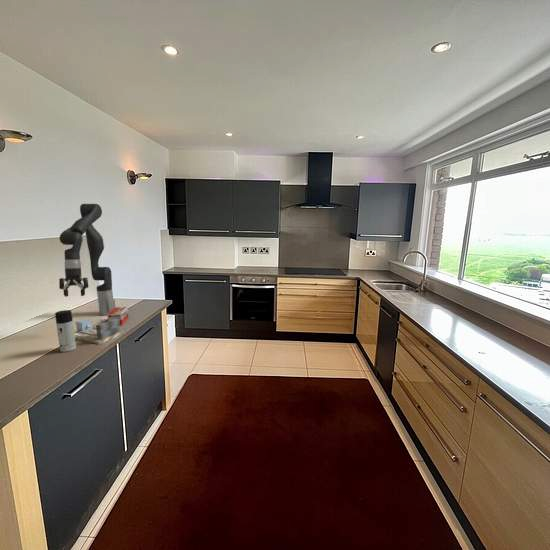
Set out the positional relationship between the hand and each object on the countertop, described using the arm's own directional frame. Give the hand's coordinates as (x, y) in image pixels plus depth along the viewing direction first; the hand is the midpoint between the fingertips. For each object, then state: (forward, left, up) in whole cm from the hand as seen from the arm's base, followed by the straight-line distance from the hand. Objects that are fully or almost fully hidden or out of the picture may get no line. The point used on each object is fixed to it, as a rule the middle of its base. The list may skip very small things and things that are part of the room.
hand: (74, 296), depth 164 cm
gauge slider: (+1, +3, -21) cm, 21 cm away
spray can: (+17, +16, -23) cm, 32 cm away
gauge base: (-1, +12, -22) cm, 25 cm away
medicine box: (-22, +5, -23) cm, 32 cm away
